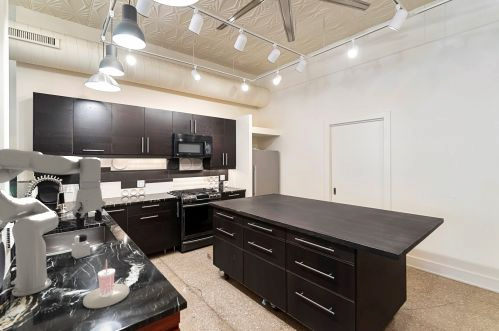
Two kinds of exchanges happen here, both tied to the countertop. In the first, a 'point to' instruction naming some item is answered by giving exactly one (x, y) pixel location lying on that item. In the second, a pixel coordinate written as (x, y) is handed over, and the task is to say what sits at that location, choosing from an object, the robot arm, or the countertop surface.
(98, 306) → the dish
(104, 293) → the beverage cup
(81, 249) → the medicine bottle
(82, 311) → the countertop surface
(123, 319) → the countertop surface
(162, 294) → the countertop surface
